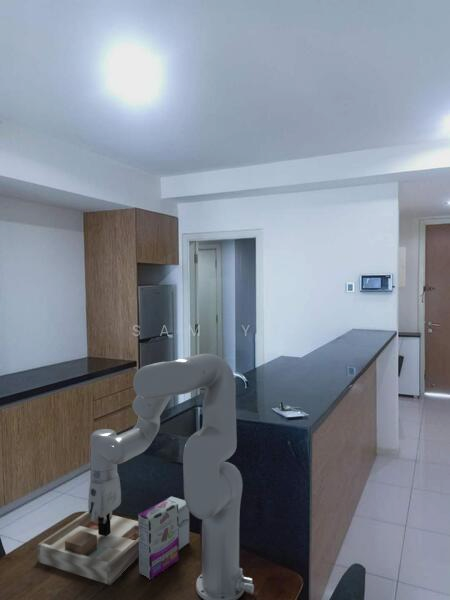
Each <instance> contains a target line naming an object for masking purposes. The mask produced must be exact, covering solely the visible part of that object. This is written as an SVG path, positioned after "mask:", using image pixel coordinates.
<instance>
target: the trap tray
mask: <svg viewBox="0 0 450 600" xmlns="http://www.w3.org/2000/svg"><path fill="white" fill-rule="evenodd" d="M79 531H84V532H87V533H90V534H94V535H97V550H96V551H94V552H93V553H92V554H90V555H89V556H85V555H81V554H78V553H75V552H71V551H68V550H65V541H66V540H67V539H69V538H70V537H72V536H73V535H75V534H76V533H78V532H79ZM134 534H138V520H133V519H132V518H131V519H130V518H126V517H121V516H118V515H114V514H112V518H111V520H110V534H109V535H108V536H103V535H99V534H98V522H91V515H89V511H88V510H87V511H85V512H84V513H82V514H81V515H79V516H78V517H76V518H75V519H73V520H72V521H70V522H69V523H67V524H66V525H64V526H62V527H61V528H60V529H58V530H57V531H55V532H54V533H52V534H51V535H49V536H48V537H46V538H44V539H43V540H42V541H40V542H39V543H37V563H39V564H43V565H47V566H50V567H52V568H56V569H58V570H62V571H65V572H68V573H71V574H75V575H76V576H77V575H78V576H80V577H84V578H87V579H90V580H93V581H97V582H99V583H103V584H106V585H109V586H112V584H113V583H114V582H116V580H117V579H118V578H119V577H120V576H122V575H123V574H124V573H125V572H126V571H127V570H128V569H129V568H130V567H131V566H132V565H133V564H134V563H135V562H136V561H137V560H138V559H139V558H138V557H139V537H138V538H137V539H136V540H132V539H133V538H134V536H135V535H134ZM133 535H134V536H133ZM137 558H138V559H137ZM136 559H137V560H136ZM135 560H136V561H135ZM134 561H135V562H134ZM133 562H134V563H133ZM132 563H133V564H132ZM131 564H132V565H131ZM130 565H131V566H130ZM129 566H130V567H129ZM128 567H129V568H128ZM127 568H128V569H127ZM126 569H127V570H126ZM125 570H126V571H125ZM124 571H125V572H124ZM123 572H124V573H123ZM122 573H123V574H122Z"/></svg>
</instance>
